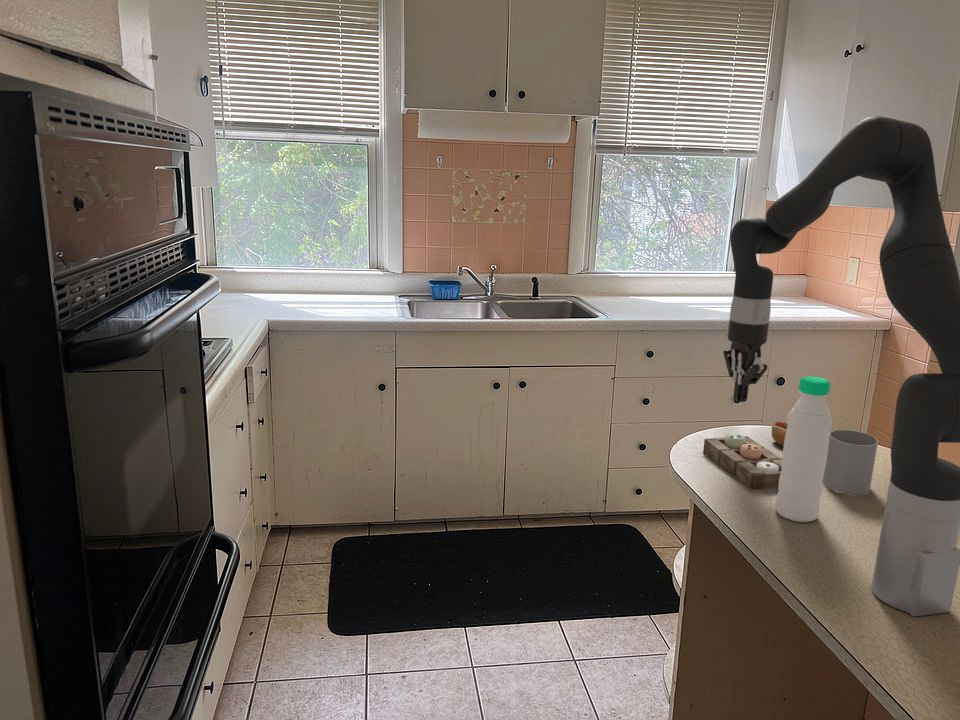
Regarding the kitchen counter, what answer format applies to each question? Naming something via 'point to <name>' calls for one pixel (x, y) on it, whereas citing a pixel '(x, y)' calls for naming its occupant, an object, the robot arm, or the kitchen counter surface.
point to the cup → (850, 462)
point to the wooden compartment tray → (744, 463)
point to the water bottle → (805, 452)
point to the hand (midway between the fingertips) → (739, 400)
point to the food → (779, 432)
